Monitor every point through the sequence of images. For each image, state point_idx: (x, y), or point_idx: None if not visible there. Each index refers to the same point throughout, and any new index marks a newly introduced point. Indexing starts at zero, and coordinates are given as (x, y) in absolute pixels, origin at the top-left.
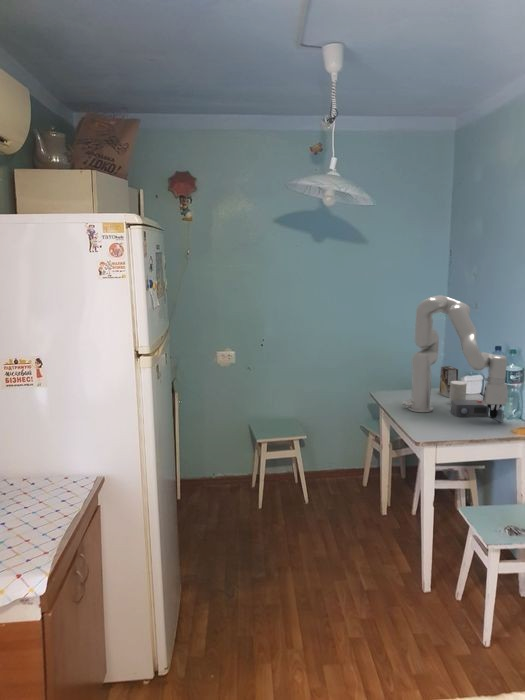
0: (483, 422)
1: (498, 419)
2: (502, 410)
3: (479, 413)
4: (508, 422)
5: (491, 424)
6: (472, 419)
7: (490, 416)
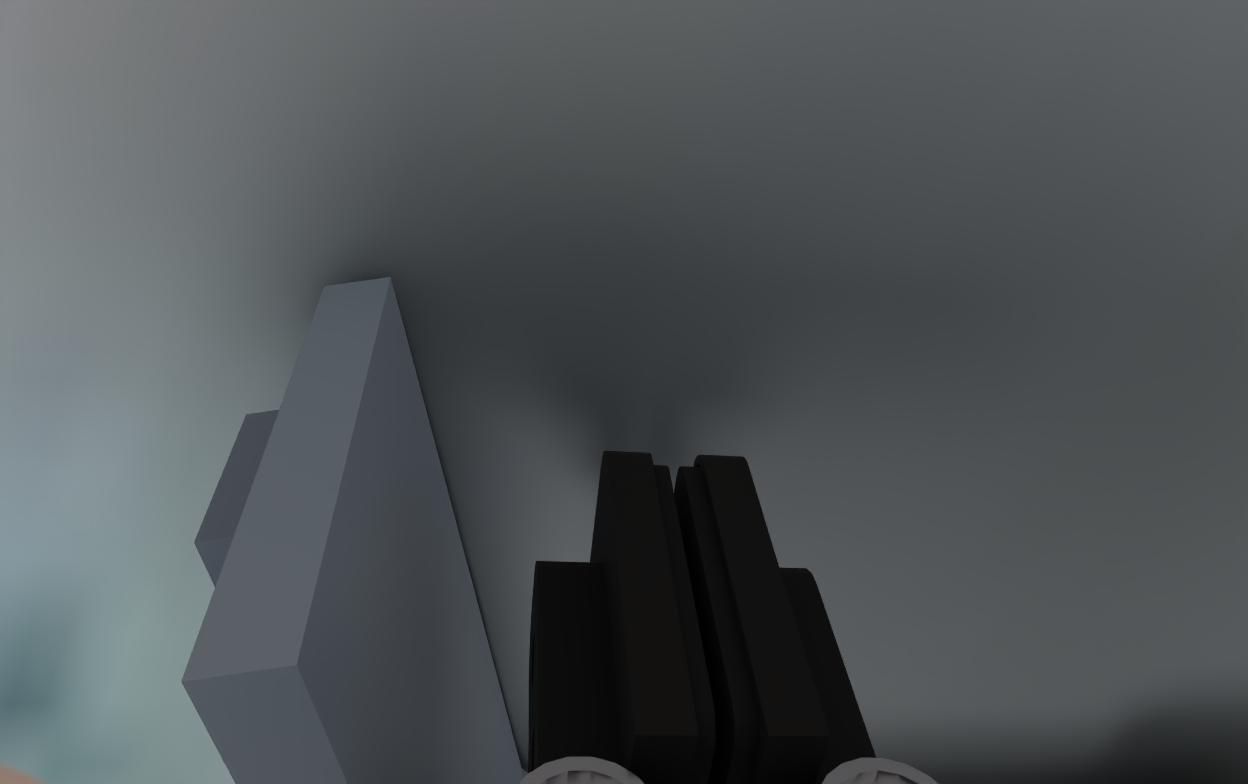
0: (980, 384)
1: (435, 493)
2: (277, 726)
3: None
4: (85, 368)
5: (837, 174)
6: (1112, 614)
7: (521, 774)
